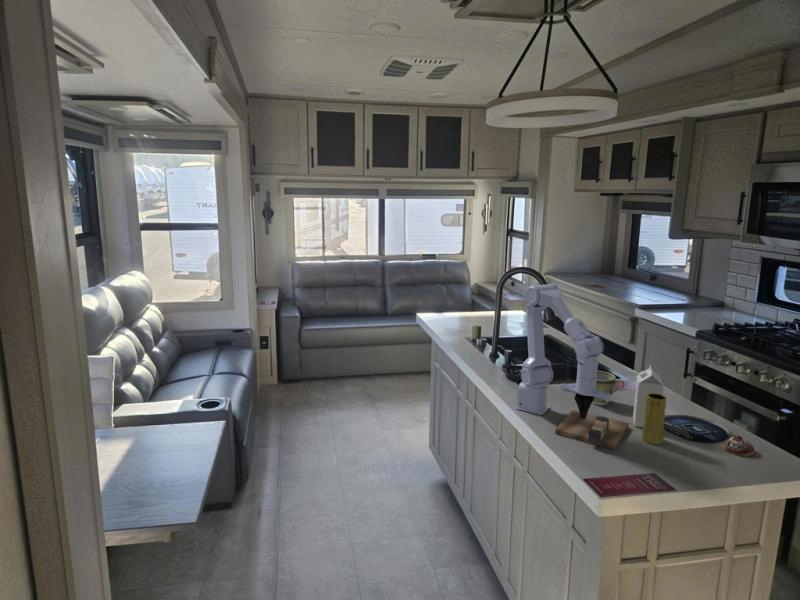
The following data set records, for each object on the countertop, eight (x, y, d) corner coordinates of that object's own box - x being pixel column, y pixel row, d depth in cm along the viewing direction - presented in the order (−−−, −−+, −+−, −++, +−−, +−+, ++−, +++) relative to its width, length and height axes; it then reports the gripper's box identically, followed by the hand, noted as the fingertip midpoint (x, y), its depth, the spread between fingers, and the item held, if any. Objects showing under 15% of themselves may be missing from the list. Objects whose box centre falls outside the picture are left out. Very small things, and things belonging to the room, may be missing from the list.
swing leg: (597, 424, 174) (598, 415, 173) (609, 427, 172) (610, 417, 171) (587, 440, 163) (588, 430, 163) (599, 443, 161) (600, 433, 161)
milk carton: (656, 420, 180) (661, 366, 176) (658, 430, 174) (664, 373, 170) (632, 417, 183) (638, 363, 179) (634, 426, 176) (639, 371, 172)
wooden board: (555, 433, 171) (555, 428, 171) (572, 414, 186) (572, 409, 185) (614, 449, 162) (615, 444, 161) (628, 427, 176) (628, 422, 175)
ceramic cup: (581, 404, 194) (583, 377, 192) (586, 394, 202) (588, 369, 200) (620, 411, 188) (623, 383, 186) (623, 401, 197) (626, 374, 194)
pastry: (719, 450, 161) (721, 434, 160) (727, 442, 166) (729, 427, 165) (749, 460, 155) (752, 444, 154) (757, 451, 160) (760, 436, 159)
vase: (665, 445, 164) (670, 401, 161) (643, 443, 165) (648, 399, 162) (660, 436, 170) (665, 393, 166) (639, 434, 171) (643, 391, 168)
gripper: (615, 376, 165) (611, 418, 168) (567, 367, 173) (564, 407, 176) (608, 384, 159) (604, 427, 162) (559, 373, 167) (556, 415, 170)
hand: (583, 417), depth 168 cm, fingers closed
